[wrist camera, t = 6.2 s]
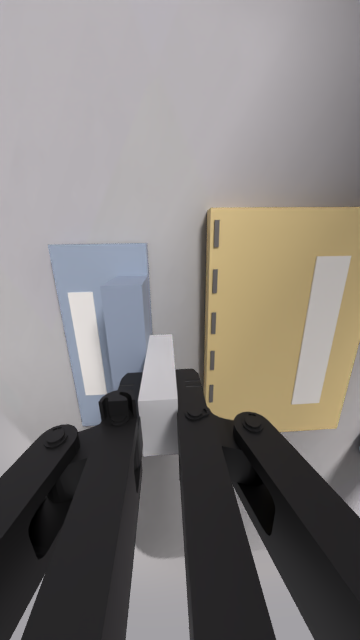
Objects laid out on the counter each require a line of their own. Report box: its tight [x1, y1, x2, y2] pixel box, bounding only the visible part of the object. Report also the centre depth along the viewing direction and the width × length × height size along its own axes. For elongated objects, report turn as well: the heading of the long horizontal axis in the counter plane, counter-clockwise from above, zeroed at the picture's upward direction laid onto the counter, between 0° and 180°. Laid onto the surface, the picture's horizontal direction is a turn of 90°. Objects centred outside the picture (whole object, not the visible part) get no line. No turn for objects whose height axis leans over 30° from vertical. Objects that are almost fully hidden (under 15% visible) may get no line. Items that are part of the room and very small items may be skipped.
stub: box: [48, 243, 153, 426], centre depth 14 cm, size 14×6×5 cm, turn 1°
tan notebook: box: [203, 207, 360, 432], centre depth 17 cm, size 18×12×1 cm, turn 1°
